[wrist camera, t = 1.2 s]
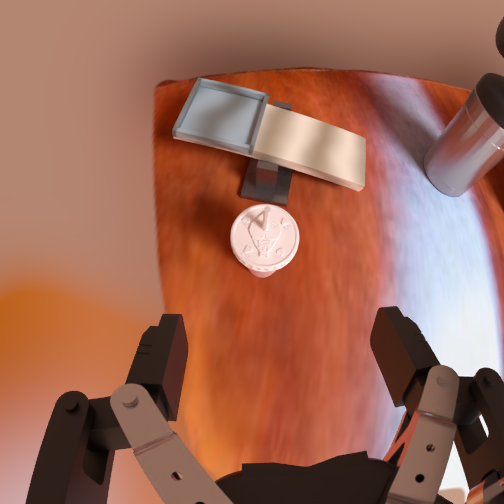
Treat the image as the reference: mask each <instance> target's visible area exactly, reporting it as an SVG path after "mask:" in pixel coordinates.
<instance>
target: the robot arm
mask: <svg viewBox="0 0 504 504" xmlns="http://www.w3.org/2000/svg"><path fill="white" fill-rule="evenodd" d="M496 46H497V49H498V51H499V53H500V54H501V55H502V57H503V58H504V17H503V19H502V20H501V22H500V24H499V26H498V29H497V32H496ZM503 158H504V77H503V76H501V75H497V74H494V73H487V74H485V75H484V76H483V77H482V78H481V79H480V81H479V82H478V84H477V85H476V87H475V88H474V90H473V91H472V92H471V94H470V95H469V97H468V98H467V100H466V101H465V103H464V104H463V105H462V107H461V108H460V109H459V111H458V112H457V114H456V115H455V116H454V118H453V119H452V120H451V122H450V123H449V124H448V126H447V127H446V128H445V130H444V131H443V132H442V134H441V135H440V136H439V137H438V139H437V140H436V141H435V143H434V144H433V145H432V146H431V148H430V149H429V150H428V152H427V153H426V154H425V156H424V169H425V171H426V174H427V176H428V178H429V179H430V181H431V182H432V184H433V185H434V186H435V187H436V188H437V189H438V190H440V191H441V192H442V193H444V194H446V195H448V196H451V197H458V196H461V195H462V194H463V193H465V192H466V191H467V190H468V189H469V188H470V187H472V186H473V185H474V184H475V183H476V182H477V181H479V180H480V179H481V178H482V177H483V176H484V175H485V174H486V173H488V172H489V171H490V170H491V169H492V168H493V167H494V166H495V165H496V164H497V163H499V162H500V161H501V160H502V159H503ZM370 345H371V349H372V351H373V353H374V356H375V358H376V361H377V363H378V365H379V368H380V370H381V373H382V375H383V378H384V380H385V383H386V385H387V388H388V390H389V393H390V395H391V398H392V400H393V403H394V406H395V407H399V406H404V405H405V407H406V409H407V410H406V411H405V413H404V415H403V418H402V420H401V423H400V426H399V428H398V431H397V433H396V435H395V438H394V440H393V442H392V445H391V447H390V449H389V451H388V452H387V454H386V456H385V457H384V459H383V460H380V459H376V458H368V455H367V451H362V452H357V453H352V454H346V455H340V456H336V457H334V458H331V459H329V460H326V461H323V462H321V463H318V464H315V465H312V466H309V467H302V466H294V465H287V464H280V463H246V464H242V470H241V471H237V472H234V473H231V474H228V475H226V476H223V477H221V478H220V479H218V480H216V481H215V482H214V481H213V480H212V478H211V477H209V475H208V474H207V472H206V471H205V470H204V469H203V467H202V466H201V465H200V464H199V462H198V461H197V460H196V459H195V457H194V456H193V455H192V453H191V452H190V451H189V449H188V448H187V447H186V445H185V444H184V443H183V441H182V440H181V439H180V437H179V436H178V435H177V434H176V433H174V431H173V430H172V429H171V427H170V426H169V424H168V423H167V422H168V421H176V419H177V413H178V408H179V402H180V396H181V390H182V384H183V379H184V373H185V368H186V363H187V357H188V342H187V337H186V332H185V327H184V321H183V317H182V315H181V314H163V315H162V317H161V320H160V323H159V326H150V327H149V328H148V329H147V330H146V332H144V334H143V335H142V338H141V340H140V343H139V346H138V348H137V351H136V354H135V357H134V360H133V362H132V365H131V368H130V371H129V374H128V377H127V380H126V383H125V385H122V386H120V387H118V388H117V389H116V390H115V391H114V392H113V394H112V395H111V396H109V397H104V398H97V399H89V400H88V398H87V397H86V395H85V394H83V393H82V392H79V391H69V392H67V393H64V394H63V395H62V396H61V397H59V399H58V400H57V402H56V404H55V407H54V410H53V412H52V415H51V418H50V421H49V423H48V426H47V429H46V432H45V435H44V439H43V441H42V445H41V447H40V451H39V454H38V457H37V461H36V465H35V468H34V472H33V475H32V479H31V483H30V487H29V491H28V495H27V499H26V504H107V497H108V490H109V484H110V477H111V471H112V465H113V460H114V455H115V450H118V449H126V448H133V450H134V455H135V457H136V459H137V461H138V462H139V464H140V466H141V467H142V469H143V471H144V472H145V474H146V476H147V477H148V479H149V480H150V482H151V484H152V485H153V487H154V488H155V490H156V491H157V493H158V494H159V496H160V497H161V499H162V500H163V502H164V503H165V504H453V503H452V502H450V501H448V500H447V499H445V498H444V497H442V496H440V495H439V494H437V493H438V490H439V487H440V485H441V482H442V479H443V476H444V473H445V469H446V466H447V463H448V459H449V456H450V452H451V449H452V445H453V441H454V442H455V445H456V448H457V451H458V454H459V457H460V460H461V463H462V467H463V470H464V473H465V476H466V480H467V483H468V487H469V490H470V492H469V494H468V496H467V501H466V502H465V504H504V382H503V381H502V379H501V377H500V376H499V374H498V373H497V372H496V371H494V370H493V369H490V368H481V369H479V370H478V371H477V373H476V375H475V376H474V377H463V376H458V375H457V373H456V372H455V371H454V370H453V369H452V368H450V367H448V366H444V365H441V364H440V363H439V361H438V359H437V358H436V356H435V354H434V352H433V351H432V349H431V347H430V346H429V344H428V342H427V341H426V339H425V337H424V336H423V334H421V331H420V329H419V328H418V326H417V324H416V323H414V322H413V321H412V320H411V319H410V318H408V317H404V316H403V315H402V313H401V311H400V310H399V308H398V307H397V306H391V307H381V308H379V309H378V311H377V315H376V318H375V322H374V325H373V329H372V332H371V336H370ZM481 414H482V416H483V418H484V421H485V423H486V425H487V428H488V431H489V435H488V438H487V435H486V433H485V431H484V428H483V426H482V423H481V421H480V419H479V416H480V415H481Z"/></svg>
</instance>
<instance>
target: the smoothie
mask: <svg viewBox="0 0 504 504" xmlns="http://www.w3.org/2000/svg"><path fill="white" fill-rule="evenodd" d="M230 238H231V247H232V250H233V253H234V254H235V256H236V257H237V259H238V260H239V261H240V262H241V263H242V264H243V265H245V266H246V267H247V268H248V269H249V271H250V272H251V273H252V274H253V275H255V276H257V277H267V276H270V275H271V274H272V273H274V272H275V271H276V270H277V269H280V268H282V267H283V266H285V265H286V264H288V263H289V262H290V261H291V259H292V258H293V257H294V255H295V253H296V251H297V249H298V244H299V230H298V227H297V224H296V222H295V221H294V219H293V218H292V216H291V215H290V214H289V213H287V212H286V211H285V210H283V209H282V208H280V207H277V206H274V205H269V204H260V205H255V206H252V207H249V208H247V209H246V210H244V211H243V212H242V213H240V214H239V215H238V217H237V218H236V219H235V221H234V223H233V225H232V228H231V236H230Z"/></svg>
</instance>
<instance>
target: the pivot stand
mask: <svg viewBox="0 0 504 504" xmlns="http://www.w3.org/2000/svg"><path fill="white" fill-rule="evenodd" d="M273 106H275V107H279V108H282V109H285V110H289V111H291V106H292V104H288V103H283V102H277V101H274V103H273ZM292 172H293V169H290V168H287V167H283V166H280V165H279V164H274V163H270V162H266V161H263V160H259V159H256V158H252V157H251V158H250V161H249V165H248V169H247V172H246V176H245V180H244V183H243V187H242V191H241V194H240V197H241V198H244V199H249V200H254V201H259V202H264V203H269V204H274V205H279V206H284V207H286V203H287V198H288V193H289V188H290V183H291V177H292Z"/></svg>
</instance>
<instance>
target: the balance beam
mask: <svg viewBox="0 0 504 504" xmlns="http://www.w3.org/2000/svg"><path fill="white" fill-rule="evenodd" d="M202 87H204V88H202ZM207 88H209V89H207ZM212 89H213V90H212ZM217 90H218V91H217ZM221 91H223V92H221ZM226 92H227V93H226ZM230 93H231V94H230ZM234 94H235V95H234ZM238 95H240V96H238ZM242 96H244V97H242ZM246 97H248V98H246ZM250 98H251V99H250ZM268 98H269V94H267V93H263V92H259V91H256V90H252V89H248V88H244V87H240V86H236V85H231V84H227V83H222V82H218V81H213V80H208V79H203V78H198V79H197V81H196V83H195V85H194V87H193V89H192V91H191V93H190V95H189V97H188V99H187V101H186V103H185V105H184V107H183V109H182V111H181V113H180V115H179V117H178V119H177V121H176V123H175V125H174V127H173V129H172V135H173V138H174V139H179V140H183V141H188V142H192V143H197V144H201V145H205V146H209V147H214V148H218V149H222V150H226V151H230V152H233V153H237V154H241V155H245V156H249V157H252V158H256V159H259V160H263V161H266V162H270V163H274V164H279V165H280V166H283V167H287V168H290V169H293V170H296V171H300V172H303V173H306V174H309V175H312V176H315V177H318V178H321V179H324V180H327V181H330V182H333V183H336V184H339V185H342V186H345V187H348V188H350V189H353V190H356V191H360V190H361V189H362V188H364V186H365V162H366V138H364V137H361V136H359V135H356V134H354V133H351V132H349V131H346V130H344V129H341V128H338V127H336V126H333V125H330V124H327V123H325V122H322V121H319V120H316V119H313V118H310V117H307V116H304V115H301V114H298V113H295V112H292V111H289V110H285V109H282V108H279V107H275V106H272V105H268V104H267V101H268ZM254 99H255V100H254ZM258 100H259V101H258ZM262 101H263V102H262Z"/></svg>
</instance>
